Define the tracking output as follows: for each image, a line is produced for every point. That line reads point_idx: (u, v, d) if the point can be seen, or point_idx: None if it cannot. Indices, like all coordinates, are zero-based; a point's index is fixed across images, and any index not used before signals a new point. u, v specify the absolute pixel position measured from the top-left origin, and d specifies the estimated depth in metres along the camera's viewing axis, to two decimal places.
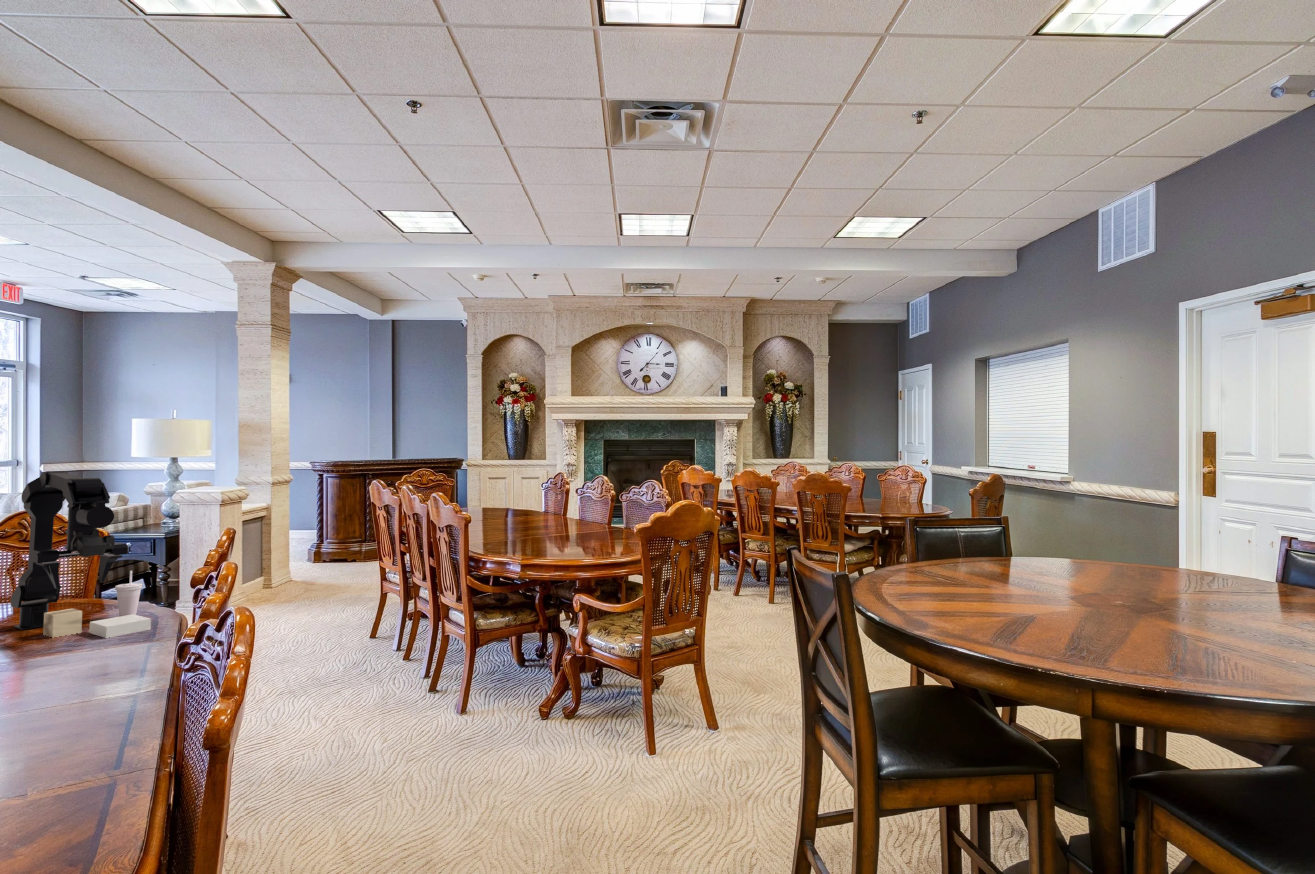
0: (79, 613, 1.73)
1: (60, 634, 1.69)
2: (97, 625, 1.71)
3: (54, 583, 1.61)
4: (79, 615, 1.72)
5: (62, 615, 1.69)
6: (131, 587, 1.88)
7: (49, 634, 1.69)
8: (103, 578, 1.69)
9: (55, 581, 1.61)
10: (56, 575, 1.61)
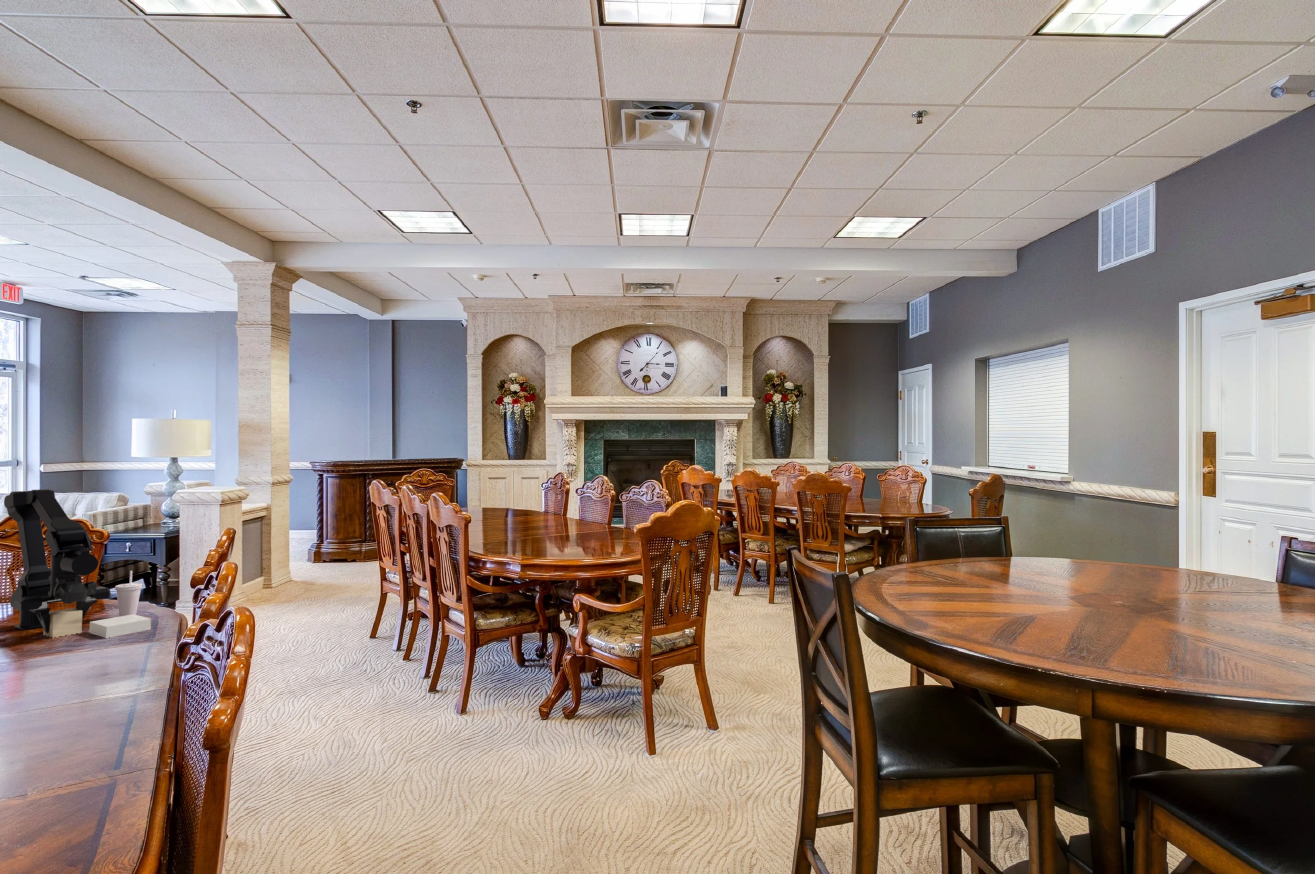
0: (79, 613, 1.73)
1: (60, 634, 1.69)
2: (97, 625, 1.71)
3: (44, 628, 1.68)
4: (79, 615, 1.72)
5: (62, 615, 1.69)
6: (131, 587, 1.88)
7: (49, 634, 1.69)
8: None
9: (45, 626, 1.68)
10: (46, 620, 1.68)
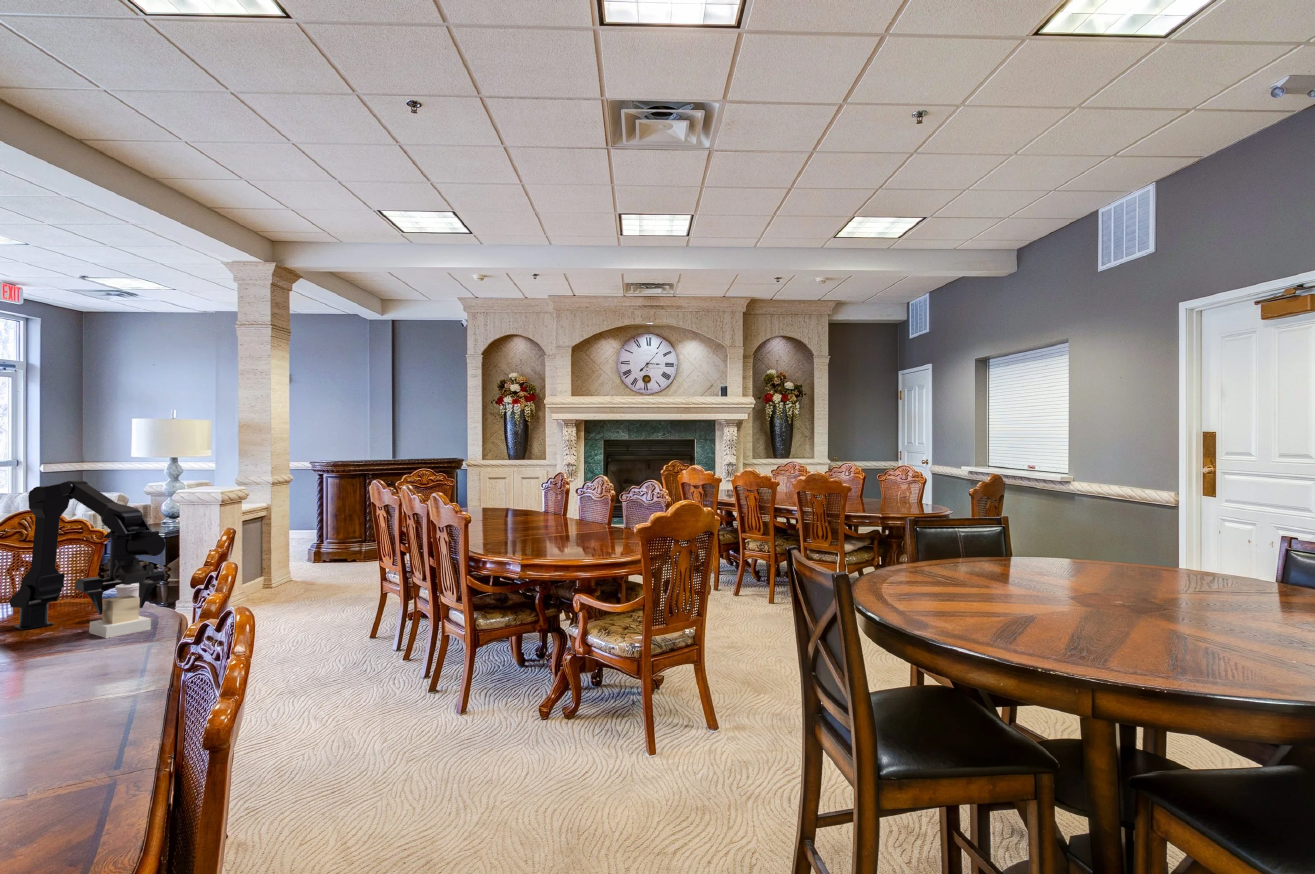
0: (137, 600, 1.76)
1: (119, 620, 1.72)
2: (97, 625, 1.71)
3: (98, 610, 1.70)
4: (137, 601, 1.76)
5: (121, 601, 1.73)
6: (131, 587, 1.88)
7: (109, 620, 1.72)
8: (142, 604, 1.79)
9: (99, 608, 1.70)
10: (100, 602, 1.70)
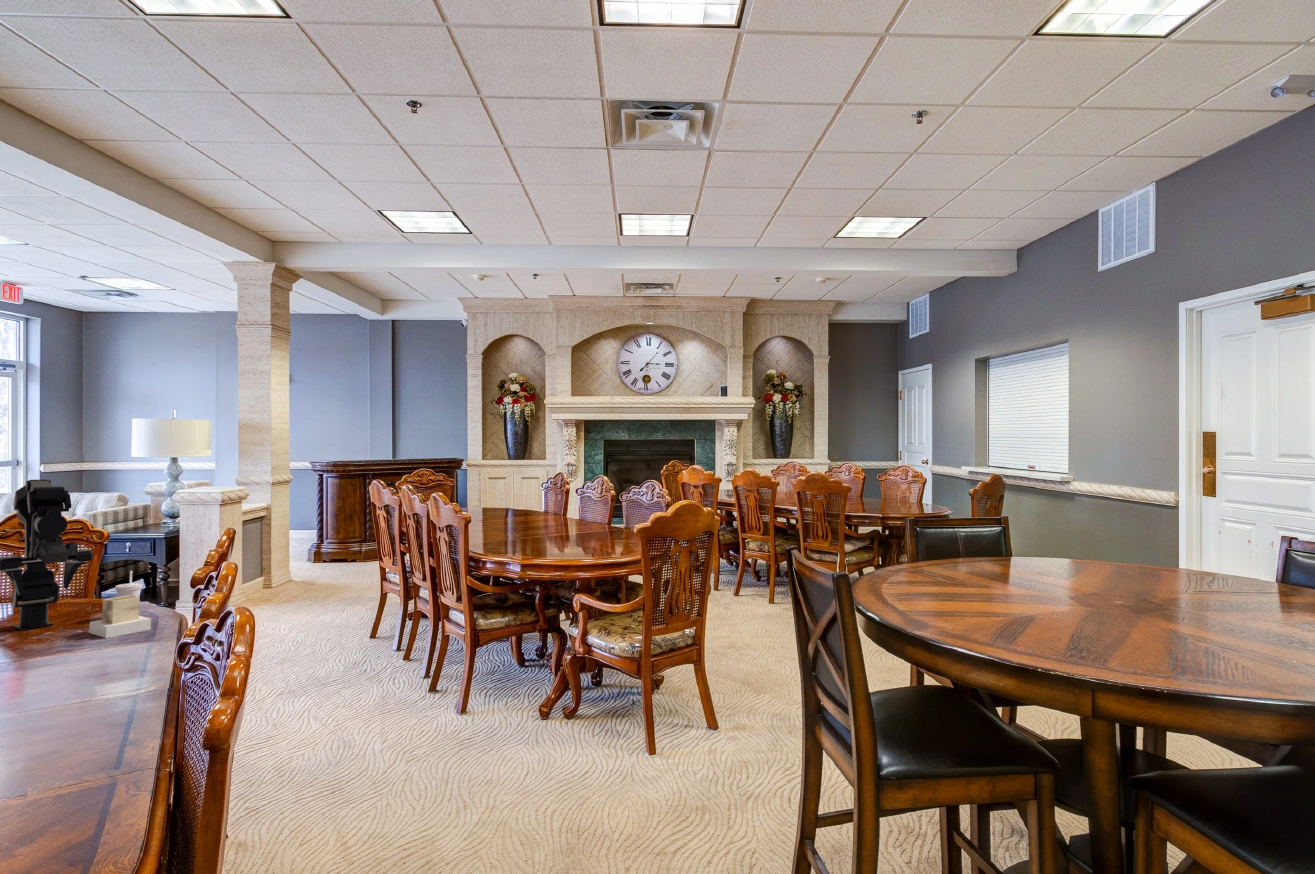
0: (137, 600, 1.76)
1: (119, 620, 1.72)
2: (97, 625, 1.71)
3: (17, 589, 1.64)
4: (137, 601, 1.76)
5: (121, 601, 1.73)
6: (131, 587, 1.88)
7: (109, 620, 1.72)
8: (67, 584, 1.73)
9: (18, 587, 1.64)
10: (19, 582, 1.64)
